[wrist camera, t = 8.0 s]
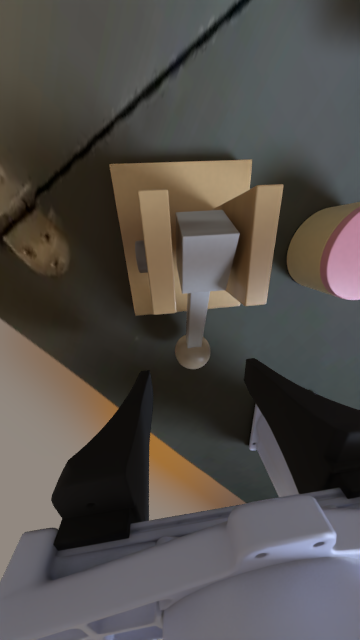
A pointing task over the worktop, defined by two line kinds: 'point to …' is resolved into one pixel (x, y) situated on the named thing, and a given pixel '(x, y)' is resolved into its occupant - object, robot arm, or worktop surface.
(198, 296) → the lever with ball knob
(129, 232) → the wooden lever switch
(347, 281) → the cake
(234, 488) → the worktop surface
